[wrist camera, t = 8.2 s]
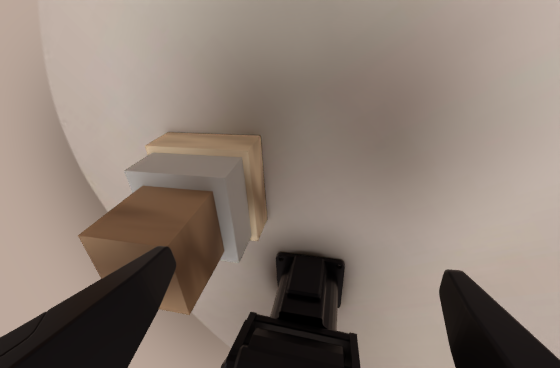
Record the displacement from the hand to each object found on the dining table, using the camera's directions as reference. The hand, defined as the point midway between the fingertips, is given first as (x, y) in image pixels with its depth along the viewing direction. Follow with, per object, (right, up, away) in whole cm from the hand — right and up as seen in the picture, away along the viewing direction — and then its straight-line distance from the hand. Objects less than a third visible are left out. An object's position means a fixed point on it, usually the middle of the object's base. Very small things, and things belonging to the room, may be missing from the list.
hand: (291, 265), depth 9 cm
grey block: (-6, +2, +12) cm, 14 cm away
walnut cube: (-7, 0, +10) cm, 12 cm away
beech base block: (-6, +3, +15) cm, 16 cm away
